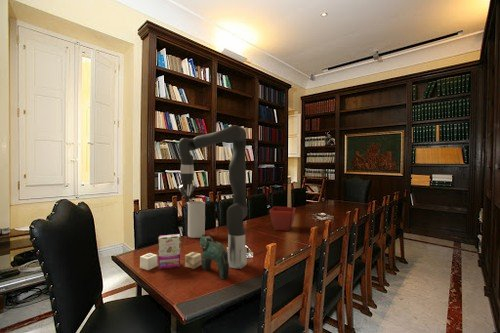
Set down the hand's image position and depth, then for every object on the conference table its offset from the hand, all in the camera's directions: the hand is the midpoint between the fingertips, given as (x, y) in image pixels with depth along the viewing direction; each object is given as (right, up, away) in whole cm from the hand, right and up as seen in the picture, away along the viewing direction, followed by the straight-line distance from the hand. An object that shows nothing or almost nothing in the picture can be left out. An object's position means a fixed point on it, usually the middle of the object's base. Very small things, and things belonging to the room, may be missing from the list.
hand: (187, 202), depth 145 cm
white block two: (-17, -32, -14) cm, 39 cm away
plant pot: (+64, -32, +63) cm, 96 cm away
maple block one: (+6, -33, -12) cm, 35 cm away
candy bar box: (-6, -33, -13) cm, 36 cm away
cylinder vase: (-3, -31, +41) cm, 52 cm away
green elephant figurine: (+19, -33, -20) cm, 43 cm away
